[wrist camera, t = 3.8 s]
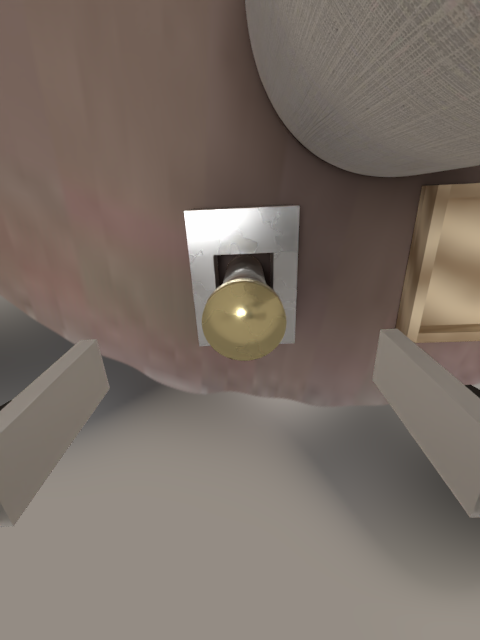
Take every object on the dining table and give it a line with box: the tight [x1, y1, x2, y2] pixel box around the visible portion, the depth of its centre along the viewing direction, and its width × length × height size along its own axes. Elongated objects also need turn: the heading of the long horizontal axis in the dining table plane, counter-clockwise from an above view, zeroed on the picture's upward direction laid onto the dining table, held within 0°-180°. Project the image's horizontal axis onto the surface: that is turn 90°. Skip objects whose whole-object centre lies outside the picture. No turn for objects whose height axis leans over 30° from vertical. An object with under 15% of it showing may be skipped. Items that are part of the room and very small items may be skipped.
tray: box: [395, 183, 480, 343], centre depth 26 cm, size 14×11×2 cm
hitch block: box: [184, 204, 300, 346], centre depth 26 cm, size 12×9×4 cm
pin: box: [202, 254, 286, 361], centre depth 22 cm, size 5×5×12 cm
